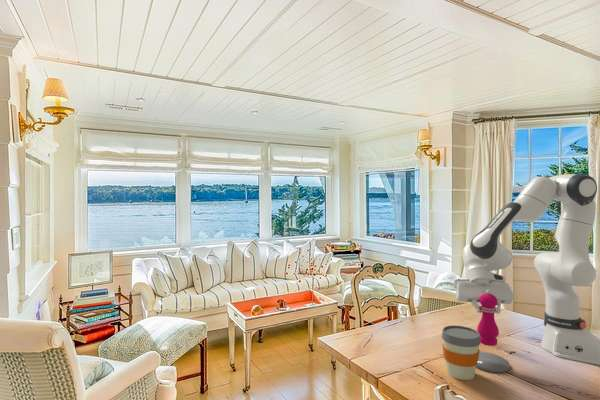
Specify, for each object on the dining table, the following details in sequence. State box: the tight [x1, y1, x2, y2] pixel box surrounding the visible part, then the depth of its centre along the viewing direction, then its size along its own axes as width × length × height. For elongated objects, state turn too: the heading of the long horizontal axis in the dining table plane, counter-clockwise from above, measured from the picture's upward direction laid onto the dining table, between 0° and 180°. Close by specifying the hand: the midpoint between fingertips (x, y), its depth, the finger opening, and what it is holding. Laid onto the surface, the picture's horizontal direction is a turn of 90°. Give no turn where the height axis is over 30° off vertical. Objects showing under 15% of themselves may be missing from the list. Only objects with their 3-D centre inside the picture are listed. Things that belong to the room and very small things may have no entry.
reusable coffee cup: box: [441, 324, 481, 381], centre depth 126 cm, size 12×13×15 cm
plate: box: [476, 351, 511, 374], centre depth 133 cm, size 14×14×1 cm
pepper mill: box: [476, 290, 500, 347], centre depth 133 cm, size 7×7×20 cm
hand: (488, 312), depth 132 cm, fingers closed on pepper mill, 5 cm apart
